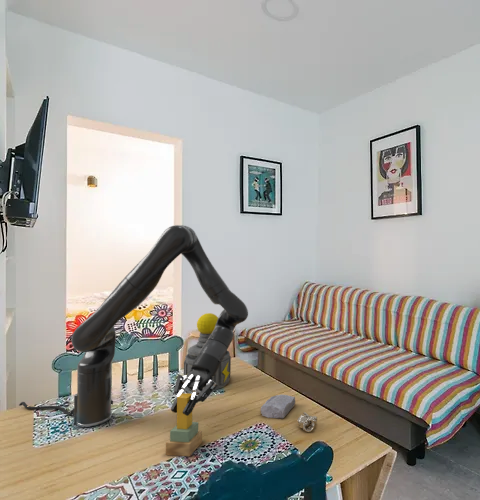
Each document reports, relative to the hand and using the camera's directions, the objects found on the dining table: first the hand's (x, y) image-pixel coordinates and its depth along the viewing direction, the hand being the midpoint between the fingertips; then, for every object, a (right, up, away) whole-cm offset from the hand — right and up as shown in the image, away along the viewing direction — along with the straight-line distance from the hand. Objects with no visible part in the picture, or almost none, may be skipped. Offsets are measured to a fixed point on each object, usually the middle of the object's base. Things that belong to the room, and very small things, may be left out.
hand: (179, 412), depth 99 cm
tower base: (0, -11, +2) cm, 11 cm away
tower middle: (0, -8, +2) cm, 8 cm away
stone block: (+22, -12, +26) cm, 37 cm away
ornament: (+34, -12, +15) cm, 40 cm away
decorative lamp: (-12, -11, +49) cm, 52 cm away
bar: (0, -5, +2) cm, 5 cm away
